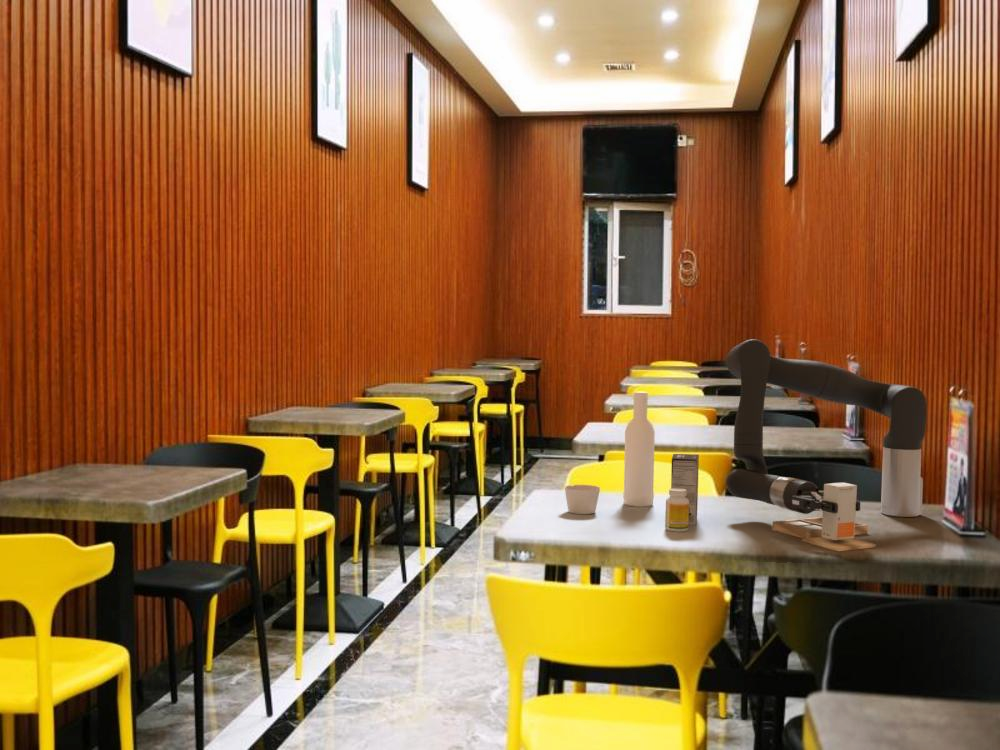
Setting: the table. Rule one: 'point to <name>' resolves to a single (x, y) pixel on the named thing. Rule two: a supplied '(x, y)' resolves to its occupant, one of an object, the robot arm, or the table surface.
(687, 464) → the coffee box
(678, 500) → the supplement bottle
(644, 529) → the table surface
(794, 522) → the light wood flat frame
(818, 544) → the coaster
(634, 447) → the bottle
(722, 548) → the table surface
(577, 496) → the beige cup
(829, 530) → the skincare box
